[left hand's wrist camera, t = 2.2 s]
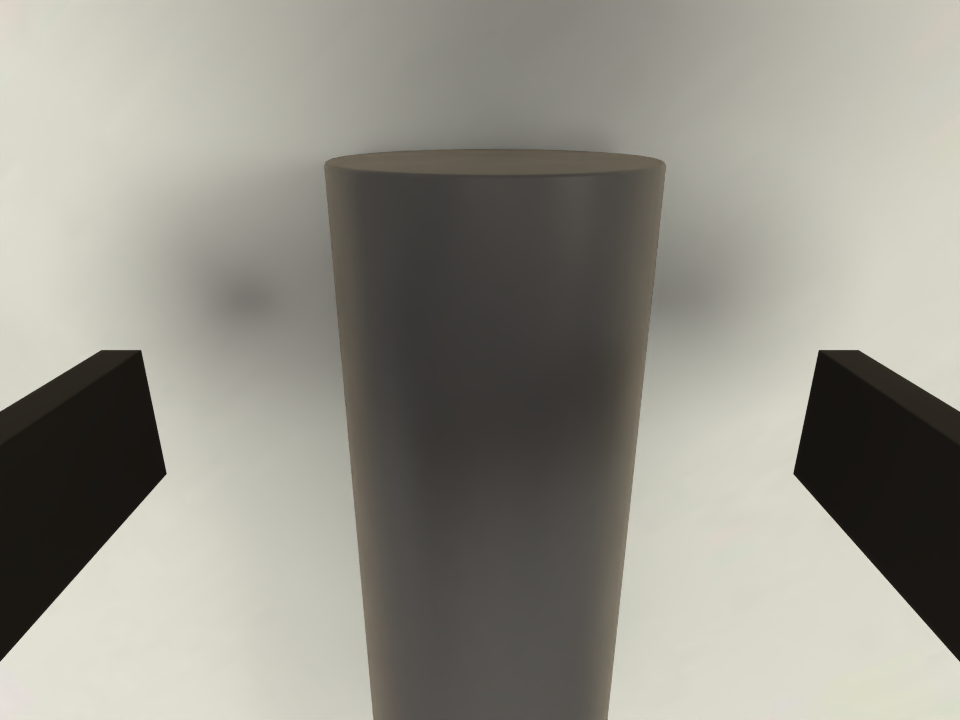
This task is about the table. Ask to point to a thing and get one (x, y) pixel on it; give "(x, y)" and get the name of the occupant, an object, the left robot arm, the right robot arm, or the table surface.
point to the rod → (492, 418)
